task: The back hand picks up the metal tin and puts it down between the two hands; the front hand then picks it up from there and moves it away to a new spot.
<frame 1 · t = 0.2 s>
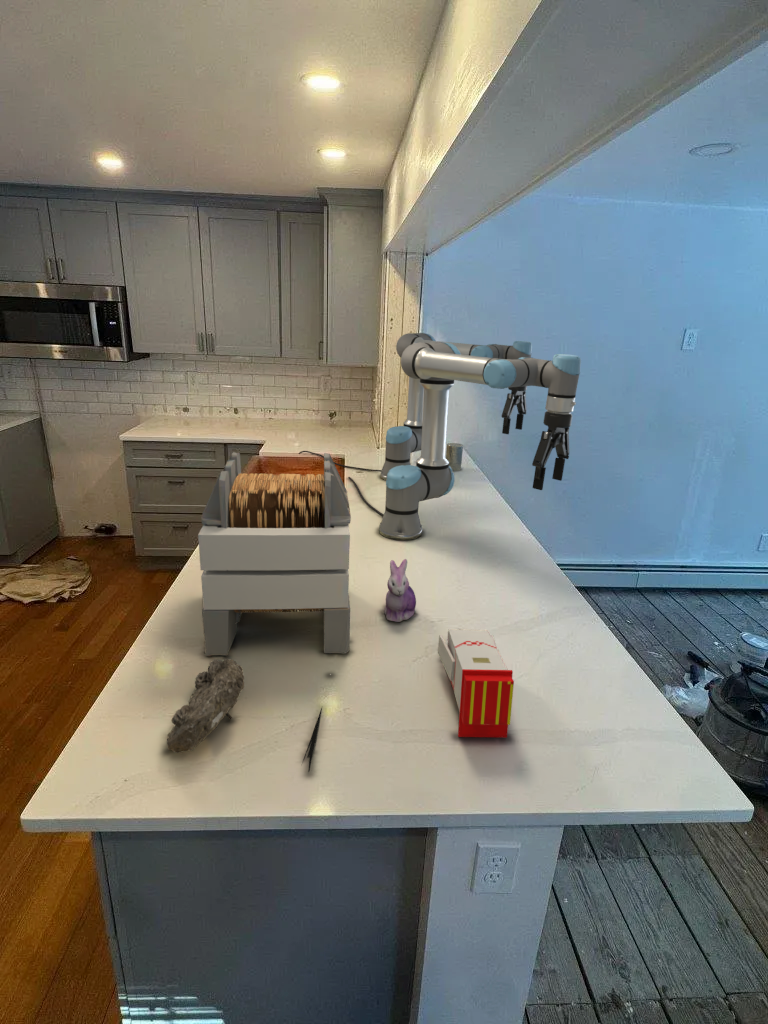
front hand: (547, 484, 166), 28 cm above the counter, tool pointing down, fingers open, 13 cm apart
back hand: (512, 431, 240), 28 cm above the counter, tool pointing down, fingers open, 13 cm apart
record crate: (282, 618, 143), on the counter
feather: (319, 719, 109), on the counter
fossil: (212, 717, 108), on the counter
toy: (469, 691, 119), on the counter
tin: (452, 468, 286), on the counter
figurine: (399, 614, 147), on the counter
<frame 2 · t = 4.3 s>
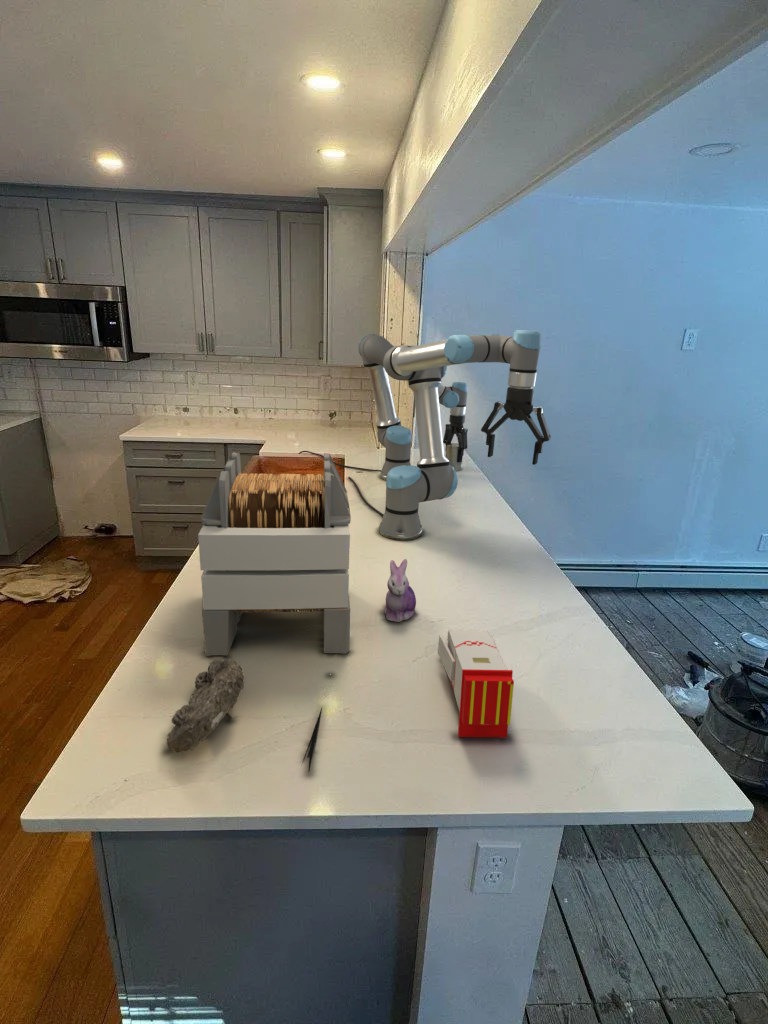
front hand: (512, 460, 168), 34 cm above the counter, tool pointing down, fingers open, 13 cm apart
back hand: (453, 459, 284), 5 cm above the counter, tool pointing down, fingers closed on tin, 8 cm apart
tin: (452, 468, 286), on the counter, touching back hand
everything else where it was.
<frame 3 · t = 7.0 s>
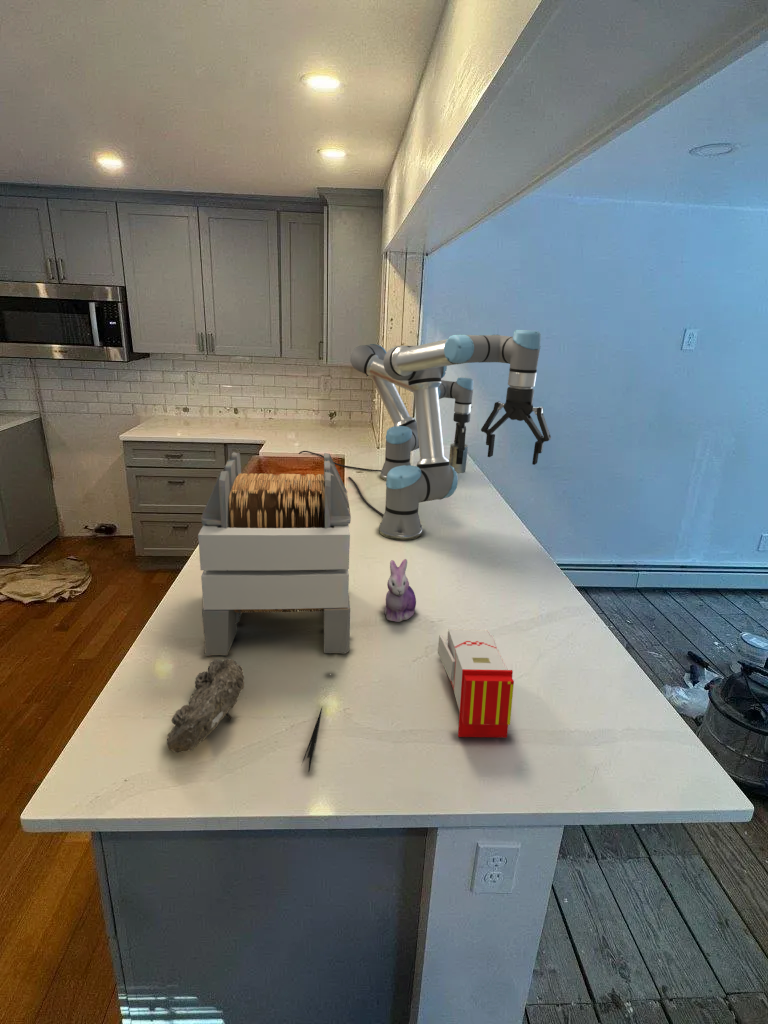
front hand: (512, 460, 168), 34 cm above the counter, tool pointing down, fingers open, 13 cm apart
back hand: (457, 461, 264), 9 cm above the counter, tool pointing down, fingers closed on tin, 8 cm apart
tin: (456, 470, 266), point 4 cm above the counter, touching back hand
everything else where it was.
when the back hand's fingers open (6 cm above the counter, at t = 9.9 s): tin drops 2 cm, on the counter.
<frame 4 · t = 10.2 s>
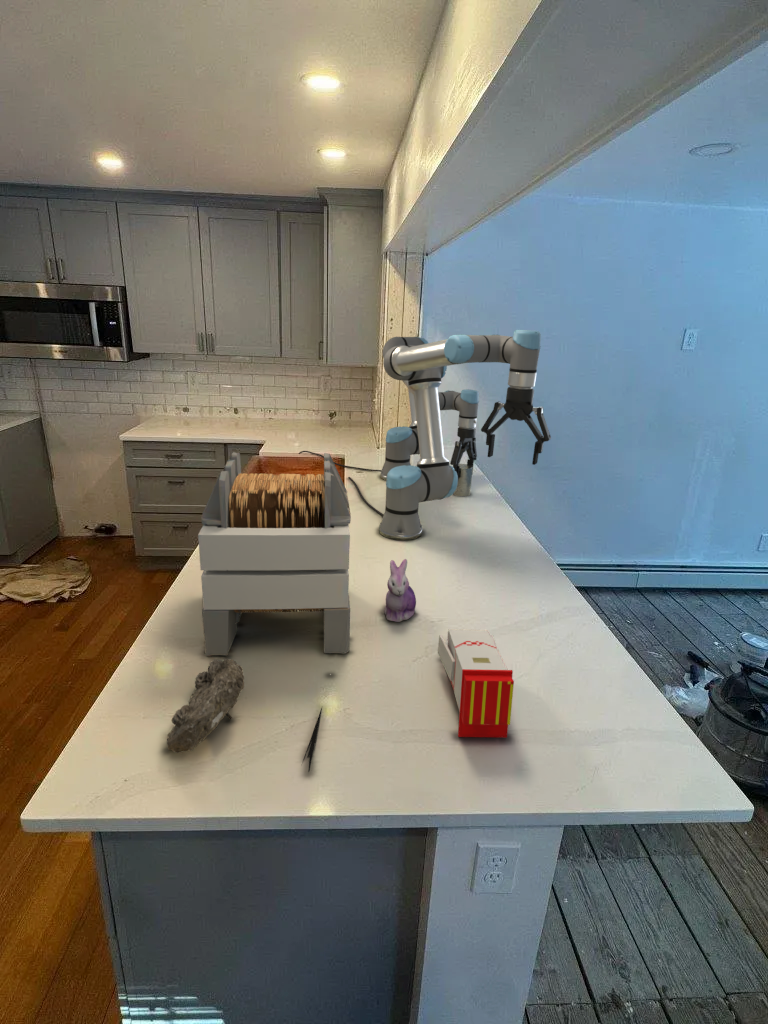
front hand: (512, 460, 168), 34 cm above the counter, tool pointing down, fingers open, 13 cm apart
back hand: (462, 477, 245), 7 cm above the counter, tool pointing down, fingers open, 12 cm apart
tin: (460, 493, 247), on the counter
everything else where it was.
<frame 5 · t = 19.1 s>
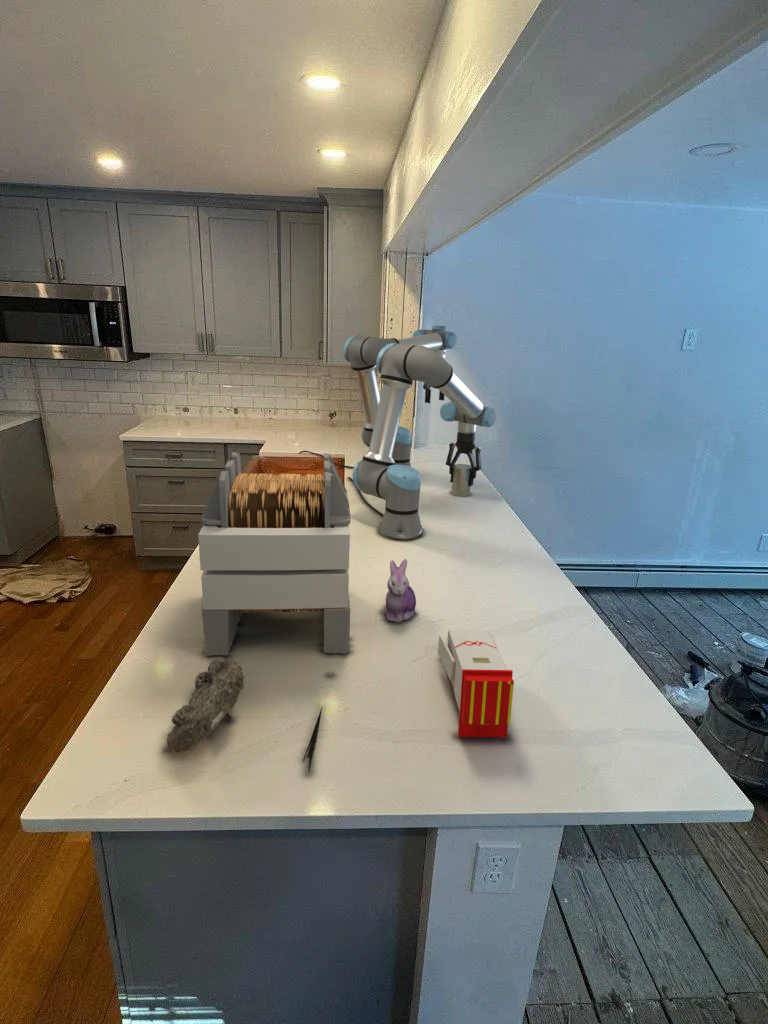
front hand: (461, 483, 246), 5 cm above the counter, tool pointing down, fingers closed on tin, 8 cm apart
back hand: (434, 401, 288), 31 cm above the counter, tool pointing down, fingers open, 13 cm apart
tin: (460, 493, 247), on the counter, touching front hand
everything else where it was.
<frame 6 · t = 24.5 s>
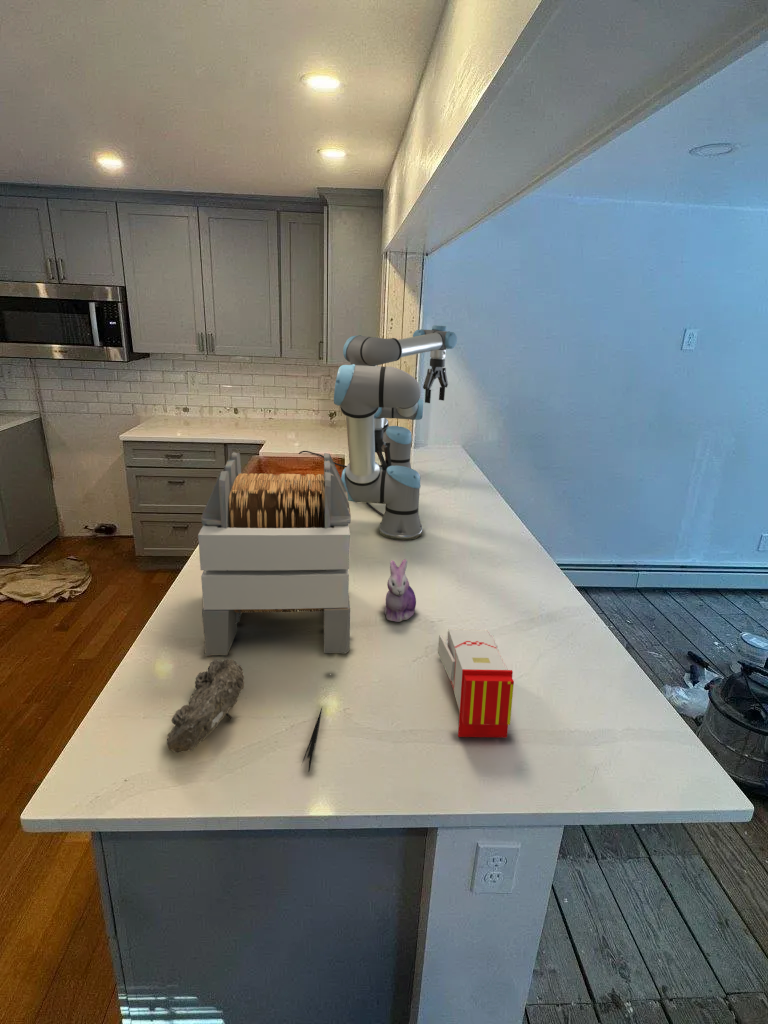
front hand: (371, 485, 223), 9 cm above the counter, tool pointing down, fingers closed on tin, 8 cm apart
back hand: (434, 401, 288), 31 cm above the counter, tool pointing down, fingers open, 13 cm apart
tin: (371, 496, 225), point 4 cm above the counter, touching front hand
everything else where it was.
when the front hand's fingers open (6 cm above the counter, at t = 29.9 s): tin drops 2 cm, on the counter.
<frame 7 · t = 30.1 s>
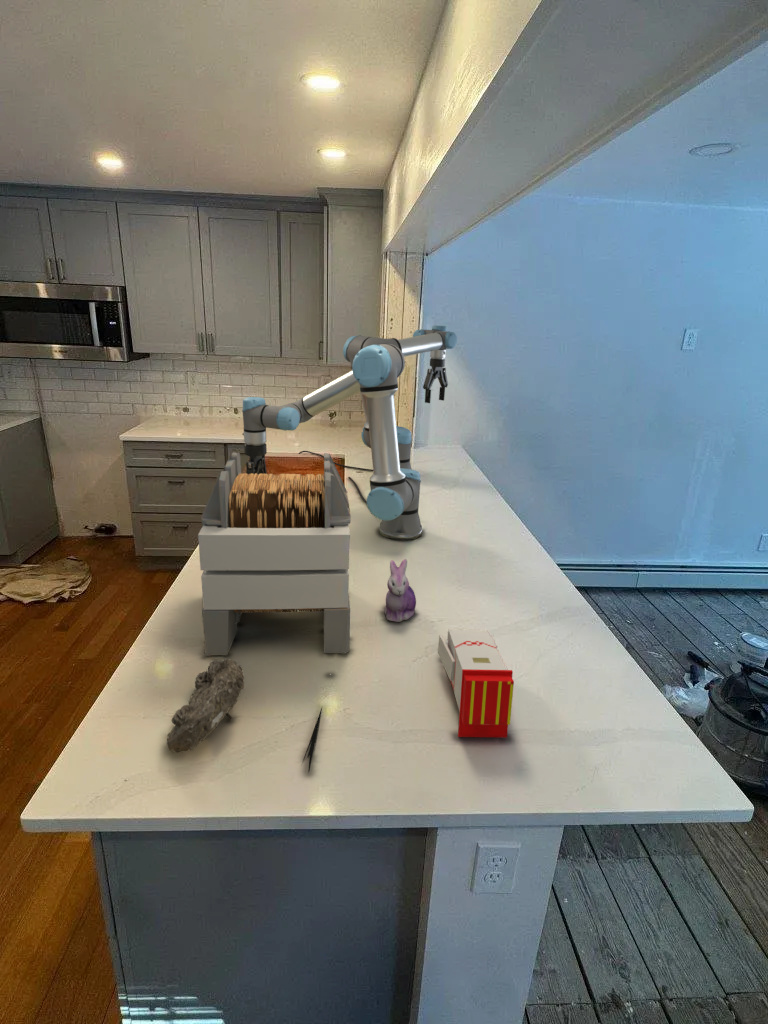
front hand: (257, 503, 203), 7 cm above the counter, tool pointing down, fingers open, 10 cm apart
back hand: (434, 401, 288), 31 cm above the counter, tool pointing down, fingers open, 13 cm apart
tin: (257, 521, 205), on the counter
everything else where it was.
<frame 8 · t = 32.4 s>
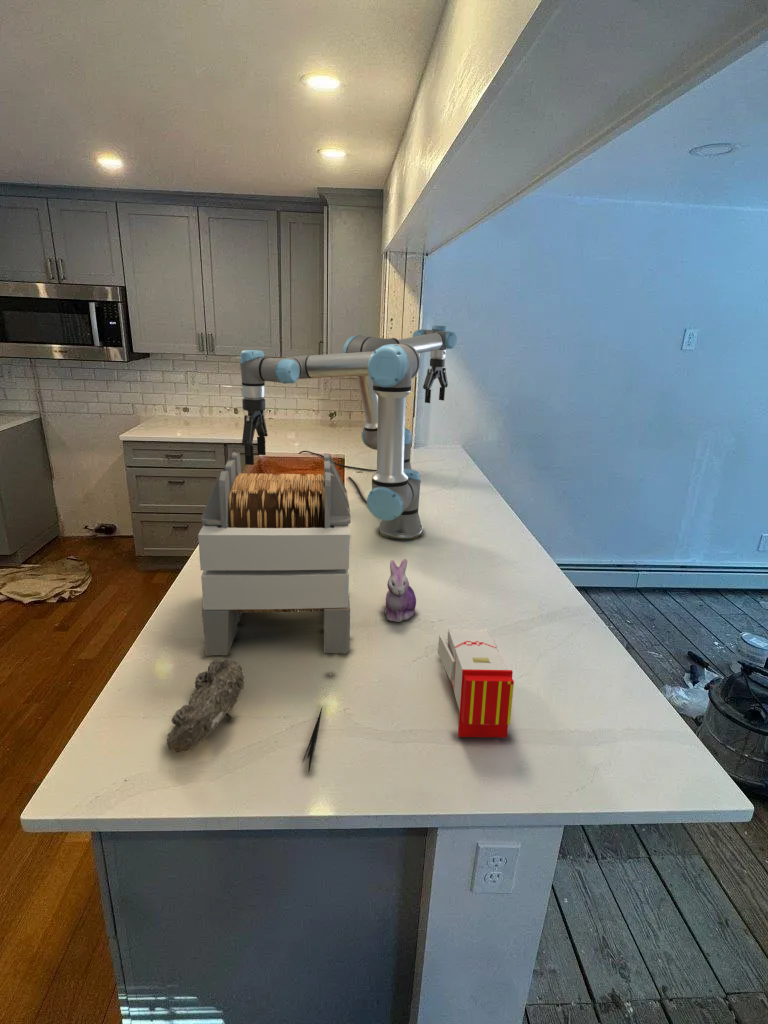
front hand: (255, 459, 197), 23 cm above the counter, tool pointing down, fingers open, 13 cm apart
back hand: (434, 401, 288), 31 cm above the counter, tool pointing down, fingers open, 13 cm apart
nothing on the counter moved.
at the end: tin inside the target area (0.0 cm from its centre), on the counter; tin tilted 0°; the two hands never held the tin at the same time; the front hand is holding nothing; the back hand is holding nothing; tin at rest at the end (0.0 cm/s) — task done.
